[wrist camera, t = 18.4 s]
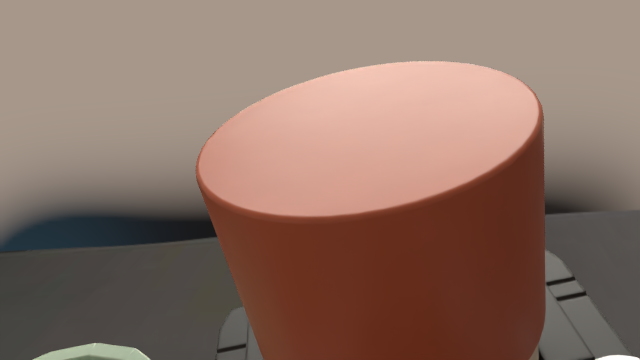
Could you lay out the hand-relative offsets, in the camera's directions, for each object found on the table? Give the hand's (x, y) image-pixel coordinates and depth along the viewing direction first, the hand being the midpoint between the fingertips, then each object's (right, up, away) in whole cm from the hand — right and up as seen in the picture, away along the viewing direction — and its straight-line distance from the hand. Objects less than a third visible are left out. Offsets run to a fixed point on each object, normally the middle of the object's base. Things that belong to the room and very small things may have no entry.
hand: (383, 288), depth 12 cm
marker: (+3, -12, +4) cm, 13 cm away
